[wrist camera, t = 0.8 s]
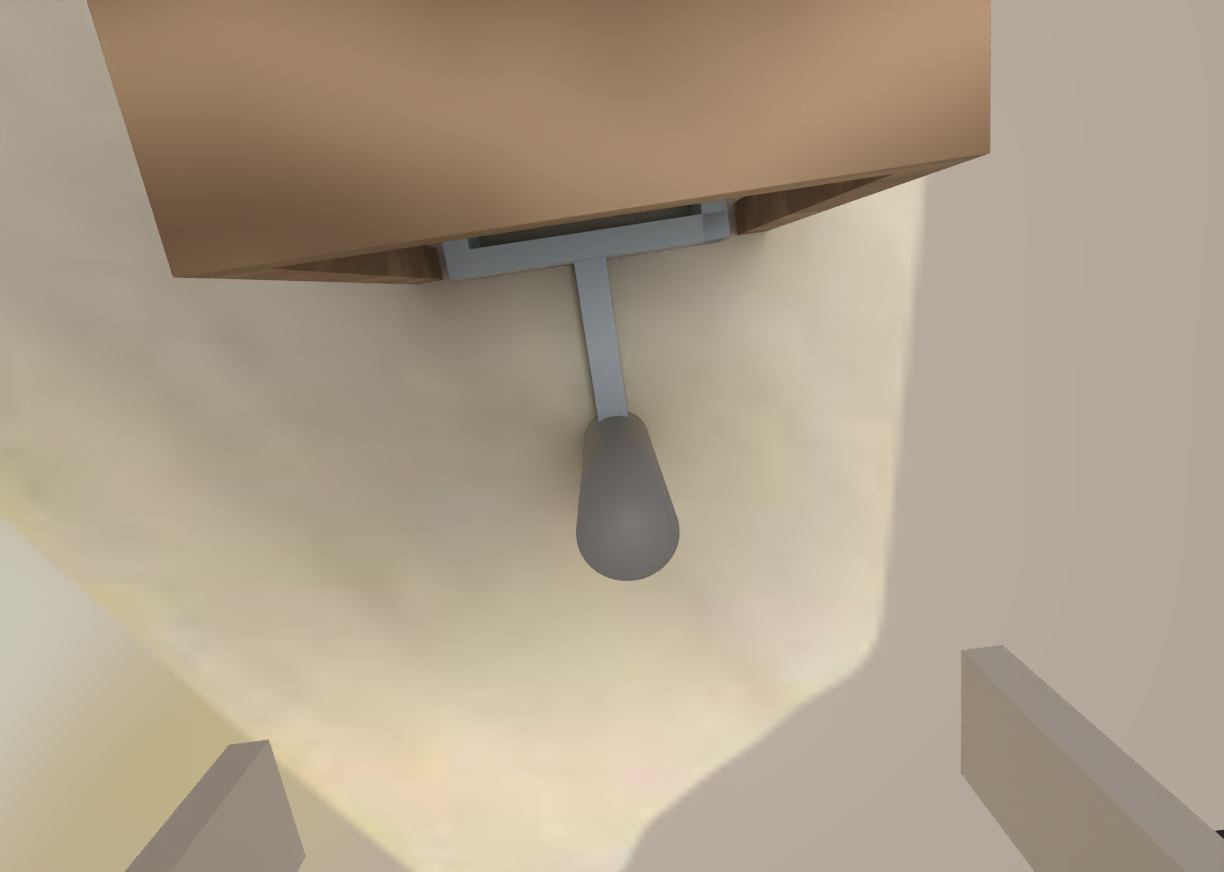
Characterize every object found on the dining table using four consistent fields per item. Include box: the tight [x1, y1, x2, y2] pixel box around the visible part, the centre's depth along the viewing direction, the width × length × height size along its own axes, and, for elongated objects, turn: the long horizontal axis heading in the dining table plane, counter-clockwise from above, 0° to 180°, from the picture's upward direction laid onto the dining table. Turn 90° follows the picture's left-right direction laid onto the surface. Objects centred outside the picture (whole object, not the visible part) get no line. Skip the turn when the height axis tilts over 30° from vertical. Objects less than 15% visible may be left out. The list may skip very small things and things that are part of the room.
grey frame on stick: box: [442, 199, 730, 581], centre depth 25 cm, size 24×13×13 cm, turn 8°
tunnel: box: [87, 0, 991, 284], centre depth 21 cm, size 12×19×18 cm, turn 98°
